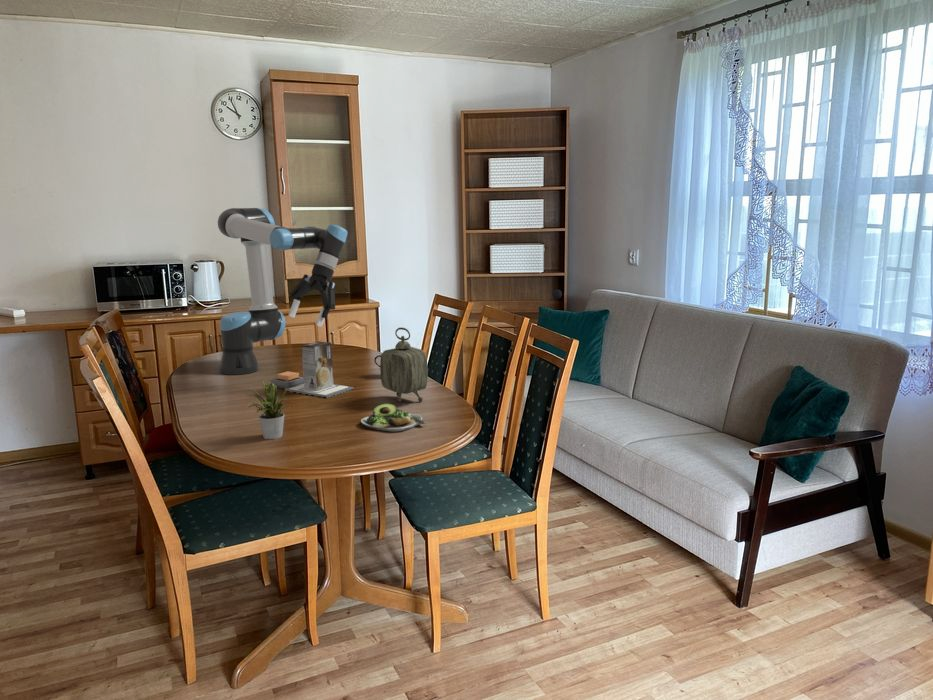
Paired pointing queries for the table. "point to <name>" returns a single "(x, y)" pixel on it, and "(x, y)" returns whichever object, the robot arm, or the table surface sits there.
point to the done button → (287, 375)
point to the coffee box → (317, 365)
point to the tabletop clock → (404, 368)
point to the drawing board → (323, 393)
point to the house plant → (270, 412)
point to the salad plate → (391, 419)
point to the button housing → (287, 382)
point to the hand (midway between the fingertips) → (304, 321)
